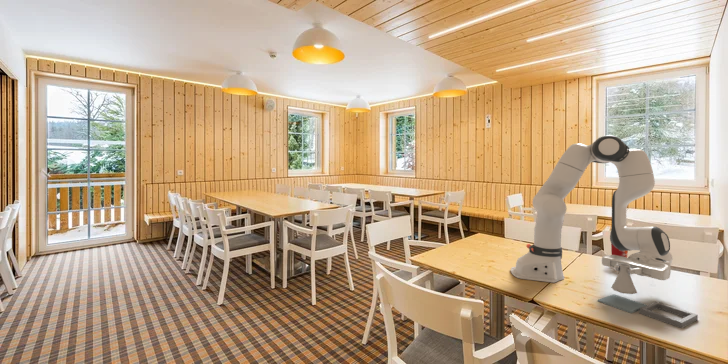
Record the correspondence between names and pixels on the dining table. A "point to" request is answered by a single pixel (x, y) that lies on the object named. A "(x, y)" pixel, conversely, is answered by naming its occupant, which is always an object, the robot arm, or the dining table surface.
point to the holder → (680, 323)
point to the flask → (624, 281)
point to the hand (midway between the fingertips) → (622, 270)
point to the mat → (622, 303)
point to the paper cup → (618, 251)
